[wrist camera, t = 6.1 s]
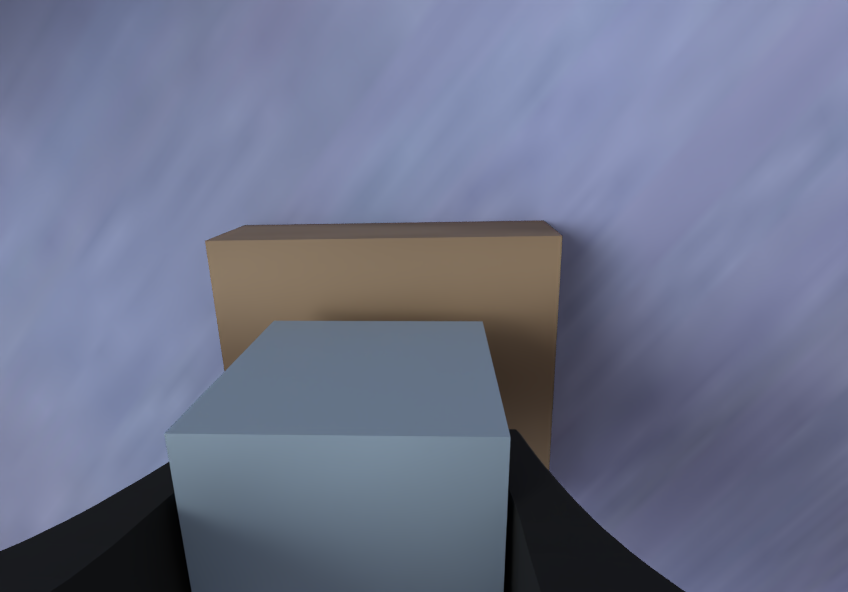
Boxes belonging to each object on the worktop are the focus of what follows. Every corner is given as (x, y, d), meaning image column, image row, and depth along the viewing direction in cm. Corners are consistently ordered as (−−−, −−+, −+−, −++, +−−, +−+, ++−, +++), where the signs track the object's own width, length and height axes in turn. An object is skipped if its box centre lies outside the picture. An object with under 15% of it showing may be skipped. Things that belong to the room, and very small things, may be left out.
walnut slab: (529, 472, 18) (545, 536, 15) (280, 470, 18) (248, 531, 15) (540, 218, 15) (562, 235, 12) (249, 223, 16) (204, 241, 13)
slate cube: (477, 499, 13) (498, 696, 9) (291, 496, 14) (208, 689, 9) (482, 321, 12) (510, 437, 7) (274, 320, 12) (164, 433, 7)
